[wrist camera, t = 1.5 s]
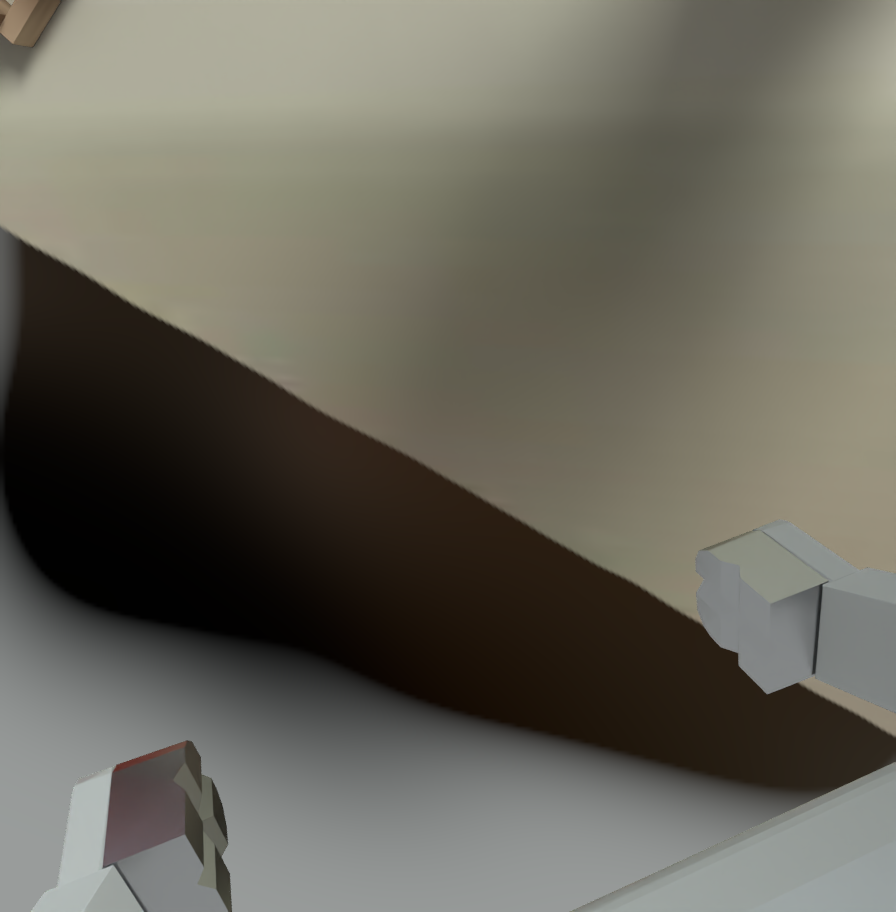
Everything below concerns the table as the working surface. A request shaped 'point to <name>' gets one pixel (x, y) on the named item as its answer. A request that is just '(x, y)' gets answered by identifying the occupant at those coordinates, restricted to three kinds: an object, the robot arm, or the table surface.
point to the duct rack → (25, 19)
